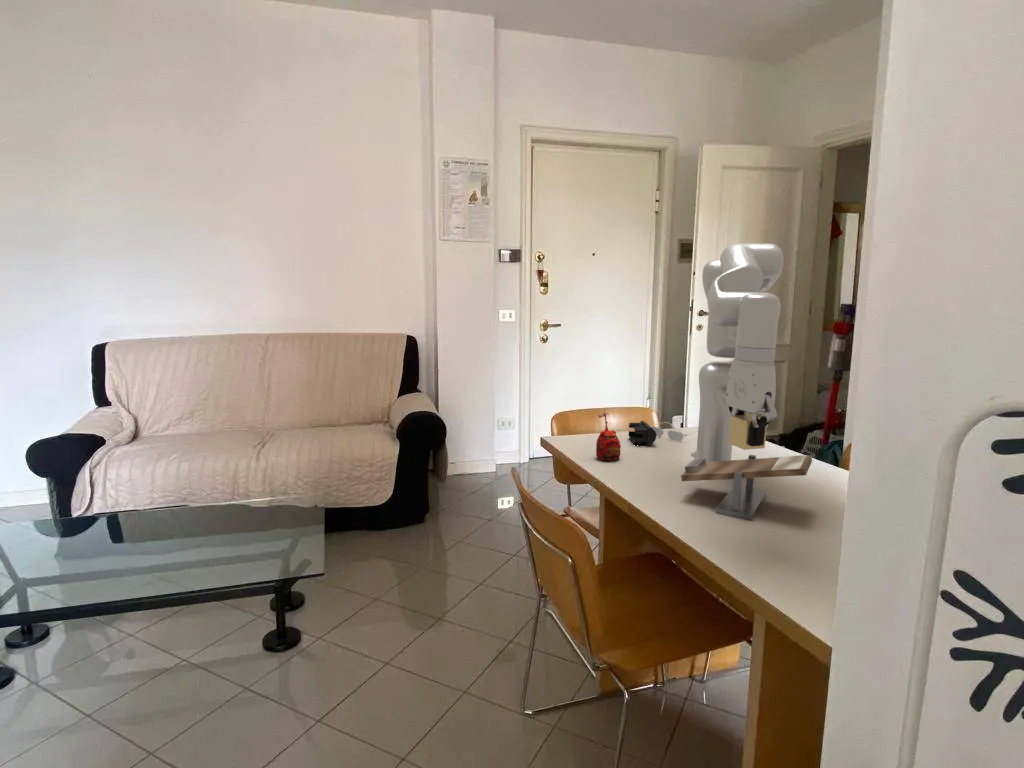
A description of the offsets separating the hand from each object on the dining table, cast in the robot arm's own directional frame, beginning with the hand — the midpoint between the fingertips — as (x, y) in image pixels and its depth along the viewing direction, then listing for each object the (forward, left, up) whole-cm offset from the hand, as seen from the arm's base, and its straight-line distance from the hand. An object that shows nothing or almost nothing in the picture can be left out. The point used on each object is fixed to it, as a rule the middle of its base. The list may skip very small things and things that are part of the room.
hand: (746, 440), depth 124 cm
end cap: (-73, +19, -21) cm, 78 cm away
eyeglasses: (-80, +37, -22) cm, 91 cm away
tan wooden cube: (0, 0, -1) cm, 1 cm away
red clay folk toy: (-59, -1, -21) cm, 62 cm away
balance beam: (-16, +14, -12) cm, 24 cm away
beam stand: (-16, +14, -21) cm, 29 cm away
